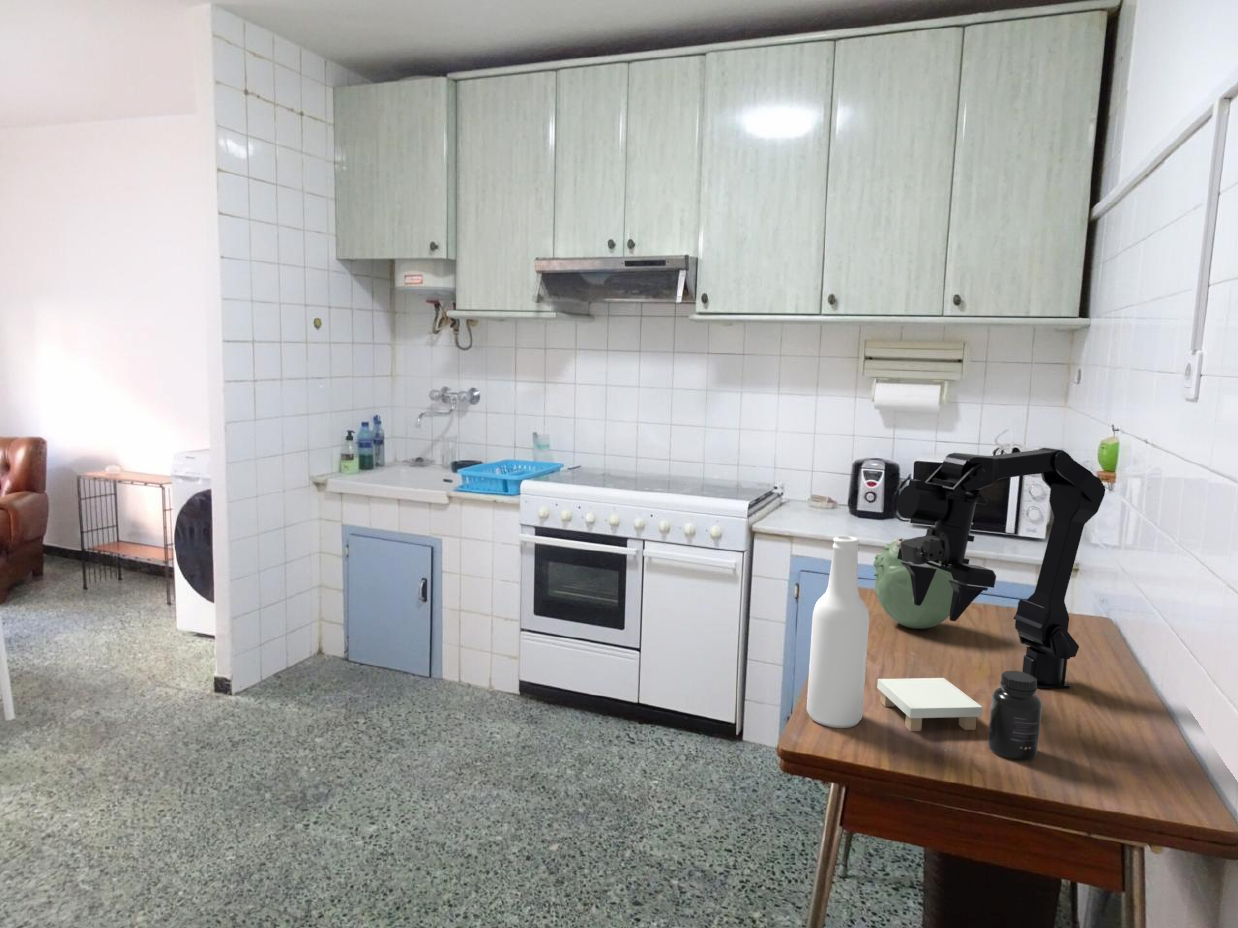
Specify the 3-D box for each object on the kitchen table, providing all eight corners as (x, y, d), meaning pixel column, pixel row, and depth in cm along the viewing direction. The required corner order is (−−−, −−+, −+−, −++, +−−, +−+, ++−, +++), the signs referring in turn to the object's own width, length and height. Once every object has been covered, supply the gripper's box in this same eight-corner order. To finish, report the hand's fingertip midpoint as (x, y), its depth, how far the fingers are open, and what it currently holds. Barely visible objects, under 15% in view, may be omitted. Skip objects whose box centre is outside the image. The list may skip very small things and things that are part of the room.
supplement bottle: (978, 741, 127) (985, 667, 125) (1020, 740, 128) (1027, 667, 126) (1002, 762, 120) (1010, 684, 119) (1046, 762, 121) (1055, 684, 119)
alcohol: (840, 703, 139) (852, 531, 136) (873, 725, 131) (887, 542, 127) (795, 709, 136) (807, 533, 133) (826, 732, 128) (839, 545, 124)
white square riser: (941, 699, 142) (943, 677, 142) (979, 730, 131) (982, 706, 130) (876, 701, 141) (877, 678, 140) (908, 732, 129) (910, 708, 129)
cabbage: (958, 644, 172) (966, 551, 169) (865, 630, 179) (871, 540, 177) (958, 623, 186) (966, 537, 184) (872, 611, 193) (879, 528, 191)
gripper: (881, 510, 148) (864, 593, 149) (952, 530, 130) (932, 625, 131) (931, 518, 152) (914, 599, 153) (1007, 539, 134) (987, 631, 135)
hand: (934, 612), depth 143 cm, fingers open, 9 cm apart
